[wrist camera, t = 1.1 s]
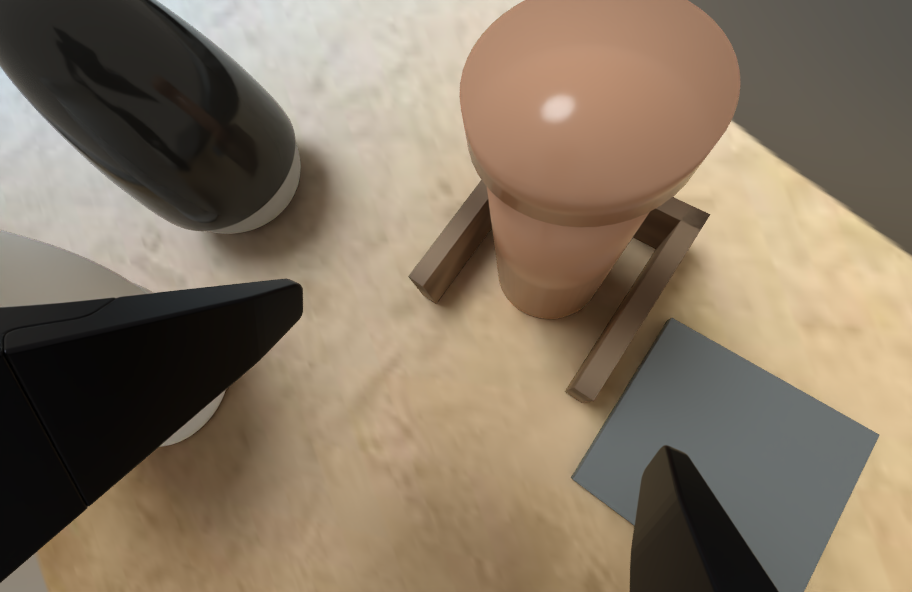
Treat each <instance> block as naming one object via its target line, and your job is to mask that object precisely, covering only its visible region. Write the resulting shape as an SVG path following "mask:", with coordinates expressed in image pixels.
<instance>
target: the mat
mask: <svg viewBox="0 0 912 592" xmlns="http://www.w3.org/2000/svg"><path fill="white" fill-rule="evenodd" d="M878 437H879V434H877V433H875V432H874V431H872V430H870V429H868V428H866V427H865V426H863V425H861V424H859V423H858V422H856V421H854V420H852V419H850V418H849V417H847V416H845V415H843V414H842V413H840V412H838V411H836V410H835V409H833V408H831V407H829V406H827V405H826V404H824V403H822V402H820V401H819V400H817V399H815V398H813V397H811V396H810V395H808V394H806V393H804V392H803V391H801V390H799V389H797V388H795V387H794V386H792V385H790V384H788V383H787V382H785V381H783V380H781V379H780V378H778V377H776V376H774V375H772V374H771V373H769V372H767V371H765V370H764V369H762V368H760V367H758V366H756V365H755V364H753V363H751V362H749V361H748V360H746V359H744V358H742V357H741V356H739V355H737V354H735V353H733V352H732V351H730V350H728V349H726V348H725V347H723V346H721V345H719V344H717V343H716V342H714V341H712V340H710V339H709V338H707V337H705V336H703V335H701V334H700V333H698V332H696V331H694V330H693V329H691V328H689V327H687V326H686V325H684V324H682V323H680V322H678V321H677V320H675V319H673V318H671V319H669V320H668V321H667V322H666V324H665V325H664V327H663V329H662V330H661V332H660V334H659V335H658V337H657V338H656V340H655V342H654V343H653V345H652V347H651V348H650V350H649V352H648V353H647V355H646V356H645V358H644V360H643V361H642V363H641V365H640V366H639V368H638V369H637V371H636V373H635V374H634V376H633V378H632V379H631V381H630V382H629V384H628V386H627V387H626V389H625V391H624V392H623V394H622V396H621V397H620V399H619V400H618V402H617V404H616V405H615V407H614V409H613V410H612V412H611V413H610V415H609V417H608V418H607V420H606V422H605V423H604V425H603V426H602V428H601V430H600V431H599V433H598V435H597V436H596V438H595V440H594V441H593V443H592V444H591V446H590V448H589V449H588V451H587V453H586V454H585V456H584V457H583V459H582V461H581V462H580V464H579V466H578V467H577V469H576V471H575V472H574V474H573V475H572V477H571V478H572V479H573V480H574V481H576V482H577V483H578V484H580V485H581V486H582V487H584V488H585V489H586V490H588V491H589V492H590V493H592V494H593V495H594V496H596V497H597V498H598V499H600V500H601V501H602V502H604V503H605V504H606V505H608V506H609V507H610V508H612V509H613V510H614V511H616V512H617V513H618V514H620V515H621V516H622V517H624V518H625V519H626V520H628V521H629V522H630V523H632V524H633V525H634V526H635V519H636V512H637V505H638V498H639V491H640V484H641V478H642V475H643V472H644V470H645V468H646V467H647V465H648V464H649V463H650V461H651V460H652V459H653V457H654V456H655V455H656V453H657V452H658V450H659V449H660V448H661V447H662V446H664V445H669V446H671V447H673V448H675V449H678V450H680V451H682V452H684V453H686V454H687V455H688V456H689V457H690V459H691V460H692V462H693V463H694V465H695V466H696V468H697V469H698V471H699V472H700V474H701V475H702V477H703V478H704V480H705V481H706V483H707V484H708V486H709V487H710V489H711V490H712V492H713V493H714V495H715V496H716V498H717V499H718V501H719V502H720V504H721V505H722V507H723V508H724V510H725V511H726V513H727V514H728V516H729V517H730V519H731V520H732V522H733V523H734V525H735V526H736V528H737V529H738V531H739V532H740V534H741V535H742V537H743V538H744V540H745V541H746V543H747V544H748V546H749V547H750V549H751V550H752V552H753V553H754V555H755V556H756V558H757V559H758V561H759V562H760V564H761V565H762V567H763V568H764V570H765V571H766V573H767V574H768V576H769V577H770V579H771V580H772V582H773V583H774V585H775V586H776V588H777V589H778V591H779V592H804V590H805V588H806V586H807V584H808V582H809V580H810V578H811V576H812V574H813V572H814V570H815V568H816V566H817V563H818V561H819V559H820V557H821V555H822V553H823V551H824V549H825V547H826V545H827V543H828V541H829V539H830V537H831V534H832V532H833V530H834V528H835V526H836V524H837V522H838V520H839V518H840V516H841V514H842V512H843V510H844V507H845V505H846V503H847V501H848V499H849V497H850V495H851V493H852V491H853V489H854V487H855V485H856V483H857V481H858V478H859V476H860V474H861V472H862V470H863V468H864V466H865V464H866V462H867V460H868V458H869V456H870V454H871V451H872V449H873V447H874V445H875V443H876V441H877V439H878Z"/></svg>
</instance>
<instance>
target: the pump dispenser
mask: <svg viewBox="0 0 912 592" xmlns="http://www.w3.org/2000/svg"><path fill="white" fill-rule="evenodd" d="M0 67H1V68H2V70H3V71H4V72H5V74H6V75H7V76H8V78H9V79H10V80H11V81H12V83H13V84H14V85H15V86H16V87H17V89H18V90H19V91H20V92H21V93H22V94H23V96H24V97H25V98H26V99H27V100H28V101H29V102H30V104H31V105H32V106H33V107H34V108H35V109H36V110H37V111H38V112H39V113H40V114H41V116H42V117H43V118H44V119H45V120H46V121H47V122H48V123H49V124H50V125H51V126H52V127H53V128H54V129H55V130H56V131H57V132H58V133H59V134H60V135H61V136H62V137H63V138H64V139H65V140H66V141H67V142H68V143H70V144H71V145H72V146H73V147H74V148H75V149H76V150H77V151H78V152H79V153H80V154H81V155H82V156H83V157H84V158H86V159H87V160H88V161H89V162H90V163H91V164H92V165H93V166H94V167H96V168H97V169H98V170H99V171H100V172H101V173H102V174H104V175H105V176H106V177H107V178H108V179H110V180H111V181H112V182H113V183H115V184H116V185H117V186H118V187H120V188H121V189H122V190H124V191H125V192H126V193H127V194H129V195H130V196H131V197H133V198H134V199H135V200H137V201H138V202H139V203H141V204H142V205H144V206H145V207H146V208H148V209H149V210H151V211H152V212H154V213H155V214H157V215H158V216H160V217H161V218H163V219H165V220H167V221H168V222H170V223H172V224H174V225H176V226H179V227H181V228H184V229H188V230H193V231H207V232H212V233H221V234H234V233H242V232H247V231H250V230H253V229H256V228H259V227H261V226H263V225H265V224H267V223H268V222H270V221H272V220H273V219H274V218H276V217H277V216H278V215H279V214H280V213H281V212H282V211H283V210H284V209H285V208H286V207H287V205H288V204H289V203H290V201H291V200H292V198H293V196H294V194H295V192H296V189H297V186H298V183H299V179H300V170H301V163H300V155H299V150H298V146H297V143H296V140H295V133H294V129H293V126H292V123H291V121H290V119H289V118H288V116H287V114H286V113H285V112H284V110H283V109H282V108H281V106H280V105H279V104H278V103H277V102H276V100H275V99H274V98H273V97H272V96H271V95H270V94H269V93H268V92H267V91H266V90H265V89H264V88H263V87H262V86H261V85H260V84H259V83H258V82H257V81H256V80H255V79H254V78H253V77H252V76H251V75H250V74H249V73H248V72H247V71H246V70H245V69H243V68H242V67H241V66H240V65H239V64H238V63H237V62H236V61H235V60H234V59H232V58H231V57H230V56H229V55H228V54H227V53H225V52H224V51H223V50H222V49H221V48H219V47H218V46H217V45H216V44H214V43H213V42H212V41H211V40H209V39H208V38H207V37H206V36H204V35H203V34H202V33H201V32H199V31H198V30H197V29H195V28H194V27H193V26H191V25H190V24H189V23H187V22H186V21H185V20H183V19H182V18H181V17H179V16H178V15H176V14H175V13H174V12H172V11H171V10H170V9H168V8H167V7H165V6H164V5H162V4H161V3H160V2H158V1H157V0H0Z"/></svg>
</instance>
